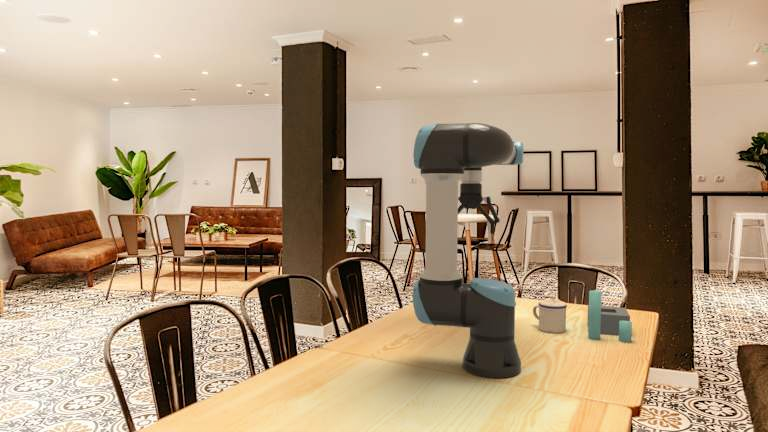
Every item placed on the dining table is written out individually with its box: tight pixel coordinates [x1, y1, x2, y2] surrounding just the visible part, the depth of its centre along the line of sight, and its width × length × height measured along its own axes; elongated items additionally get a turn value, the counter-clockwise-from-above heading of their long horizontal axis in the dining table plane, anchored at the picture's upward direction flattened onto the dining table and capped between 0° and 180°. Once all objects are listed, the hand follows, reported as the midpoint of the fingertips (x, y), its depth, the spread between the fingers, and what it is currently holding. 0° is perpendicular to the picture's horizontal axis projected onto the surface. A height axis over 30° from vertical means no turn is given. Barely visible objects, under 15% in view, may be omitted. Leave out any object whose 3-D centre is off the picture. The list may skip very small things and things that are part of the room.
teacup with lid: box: [532, 294, 568, 334], centre depth 179 cm, size 12×9×12 cm
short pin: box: [618, 320, 633, 344], centre depth 165 cm, size 4×4×6 cm
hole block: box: [586, 304, 631, 336], centre depth 178 cm, size 12×12×6 cm
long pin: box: [587, 289, 602, 341], centre depth 168 cm, size 4×4×15 cm
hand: (470, 242), depth 189 cm, fingers open, 13 cm apart
